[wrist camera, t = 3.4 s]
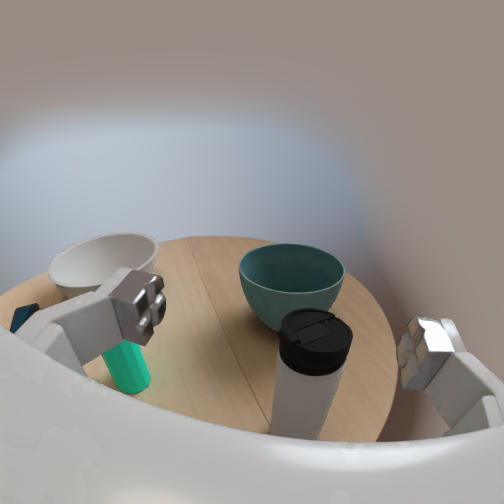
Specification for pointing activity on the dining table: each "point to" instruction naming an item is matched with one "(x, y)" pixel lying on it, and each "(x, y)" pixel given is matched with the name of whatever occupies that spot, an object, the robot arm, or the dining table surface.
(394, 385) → the dining table surface
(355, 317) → the dining table surface
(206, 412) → the dining table surface
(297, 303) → the deep teal bowl
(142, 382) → the candle
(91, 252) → the bowl
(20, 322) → the smartphone
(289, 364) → the travel mug
